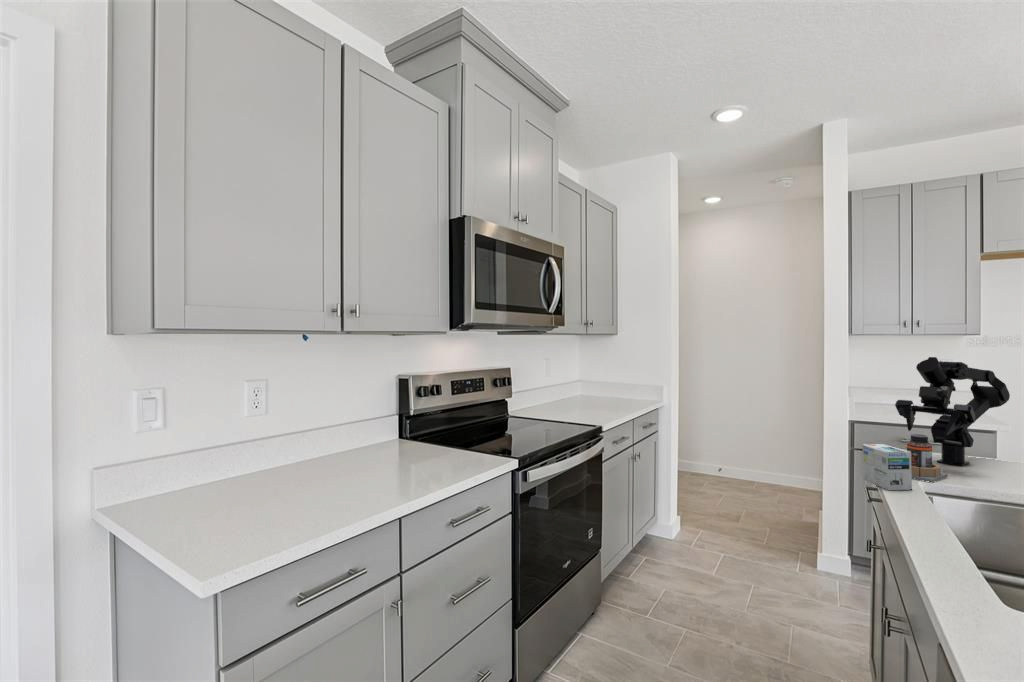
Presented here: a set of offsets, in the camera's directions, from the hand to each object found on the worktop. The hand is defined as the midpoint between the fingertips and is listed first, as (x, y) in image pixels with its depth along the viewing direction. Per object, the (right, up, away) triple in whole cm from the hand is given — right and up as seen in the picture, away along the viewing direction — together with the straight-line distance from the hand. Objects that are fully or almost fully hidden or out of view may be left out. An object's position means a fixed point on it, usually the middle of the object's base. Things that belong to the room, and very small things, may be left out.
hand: (927, 432), depth 153 cm
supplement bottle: (-5, -12, -3) cm, 13 cm away
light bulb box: (-20, -13, -11) cm, 27 cm away
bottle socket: (-5, -13, -3) cm, 14 cm away
